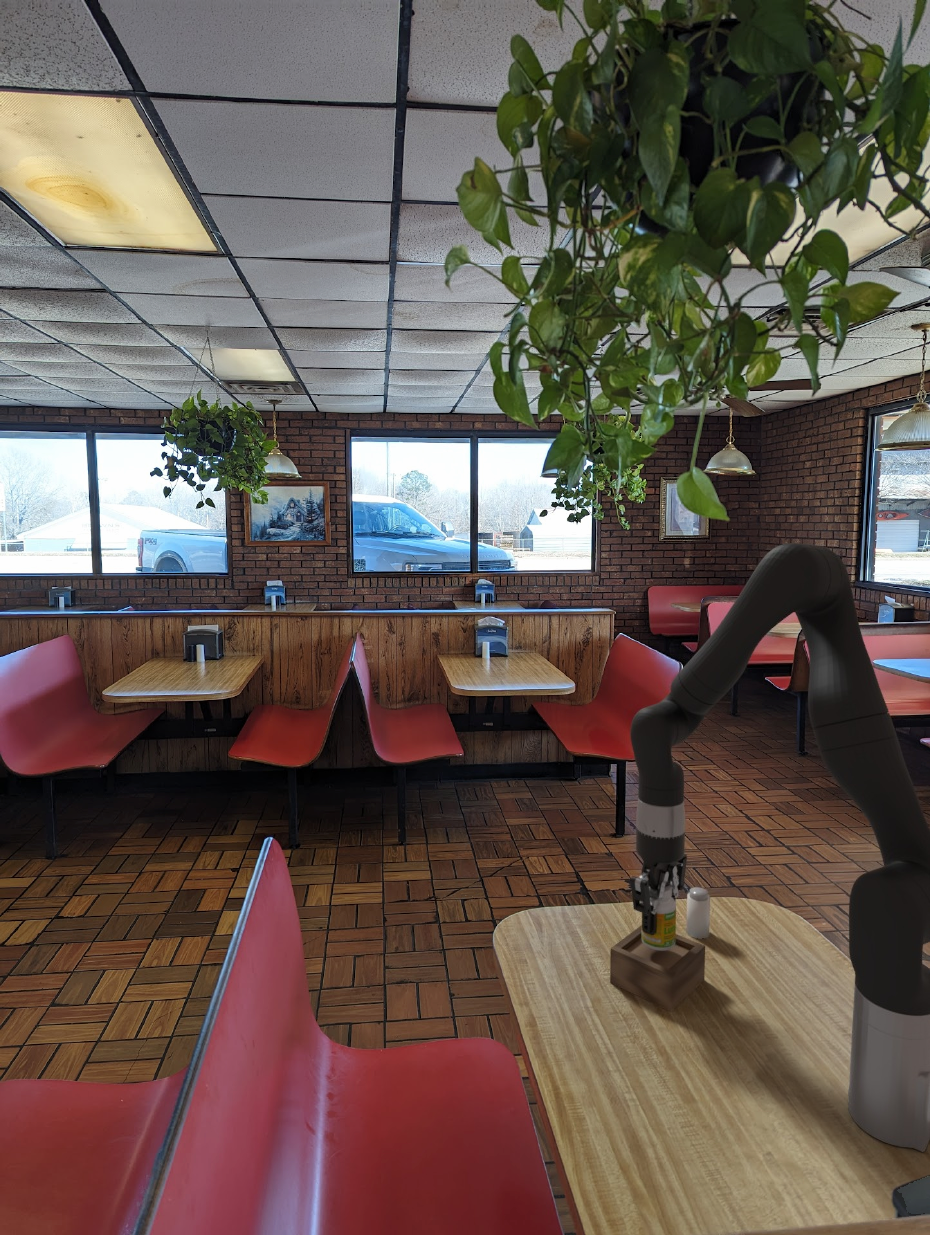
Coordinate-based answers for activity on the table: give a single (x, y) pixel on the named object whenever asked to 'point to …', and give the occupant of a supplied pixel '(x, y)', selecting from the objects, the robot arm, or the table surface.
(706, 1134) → the table surface
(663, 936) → the supplement bottle
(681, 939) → the walnut tray
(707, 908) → the sugar shaker
